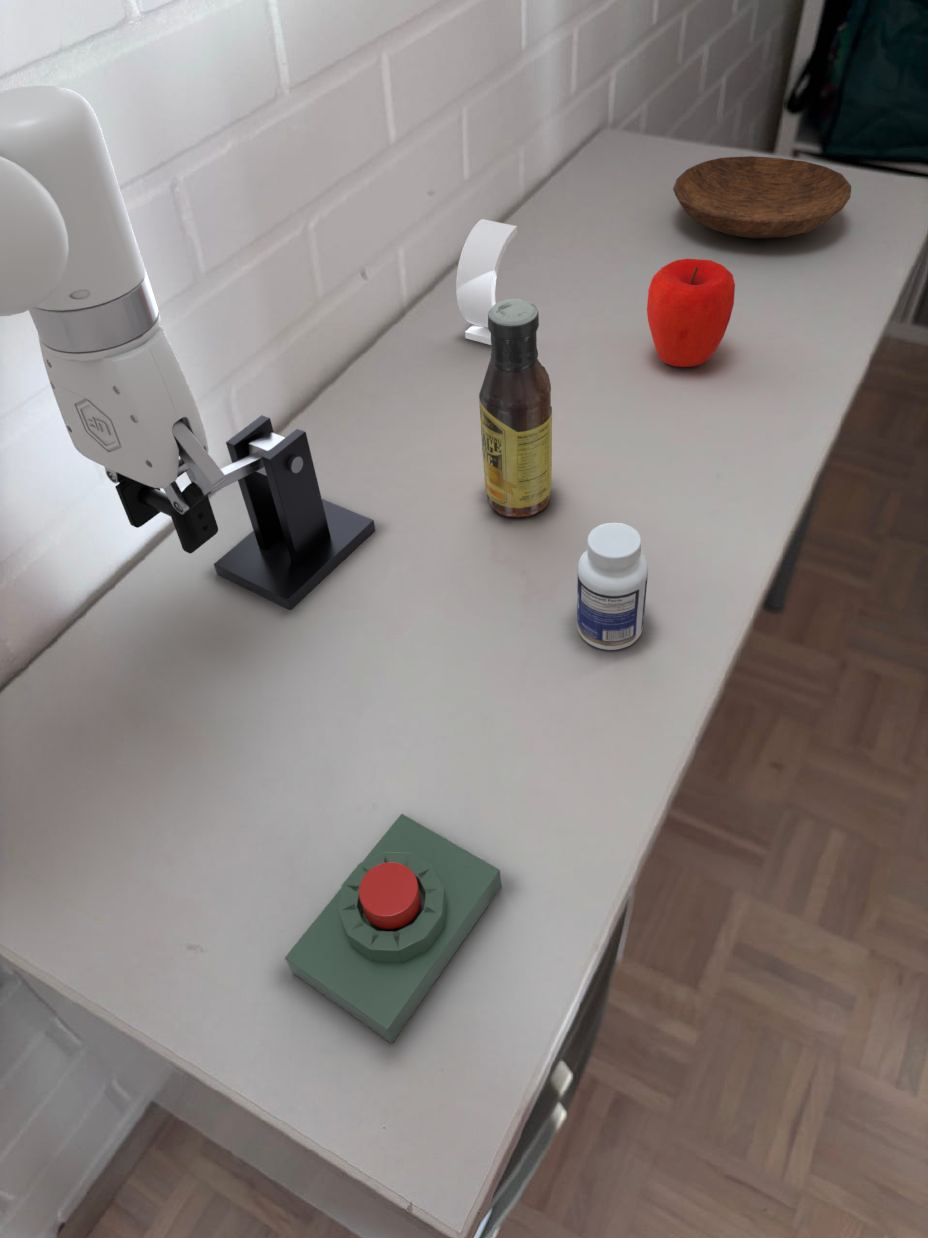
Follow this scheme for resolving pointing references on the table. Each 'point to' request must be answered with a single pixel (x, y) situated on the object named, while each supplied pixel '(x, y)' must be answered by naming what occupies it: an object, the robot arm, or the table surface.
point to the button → (390, 895)
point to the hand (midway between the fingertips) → (174, 527)
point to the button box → (395, 930)
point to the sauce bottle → (516, 413)
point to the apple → (689, 310)
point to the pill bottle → (611, 587)
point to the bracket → (287, 522)
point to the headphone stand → (481, 274)
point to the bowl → (761, 195)
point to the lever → (231, 472)
